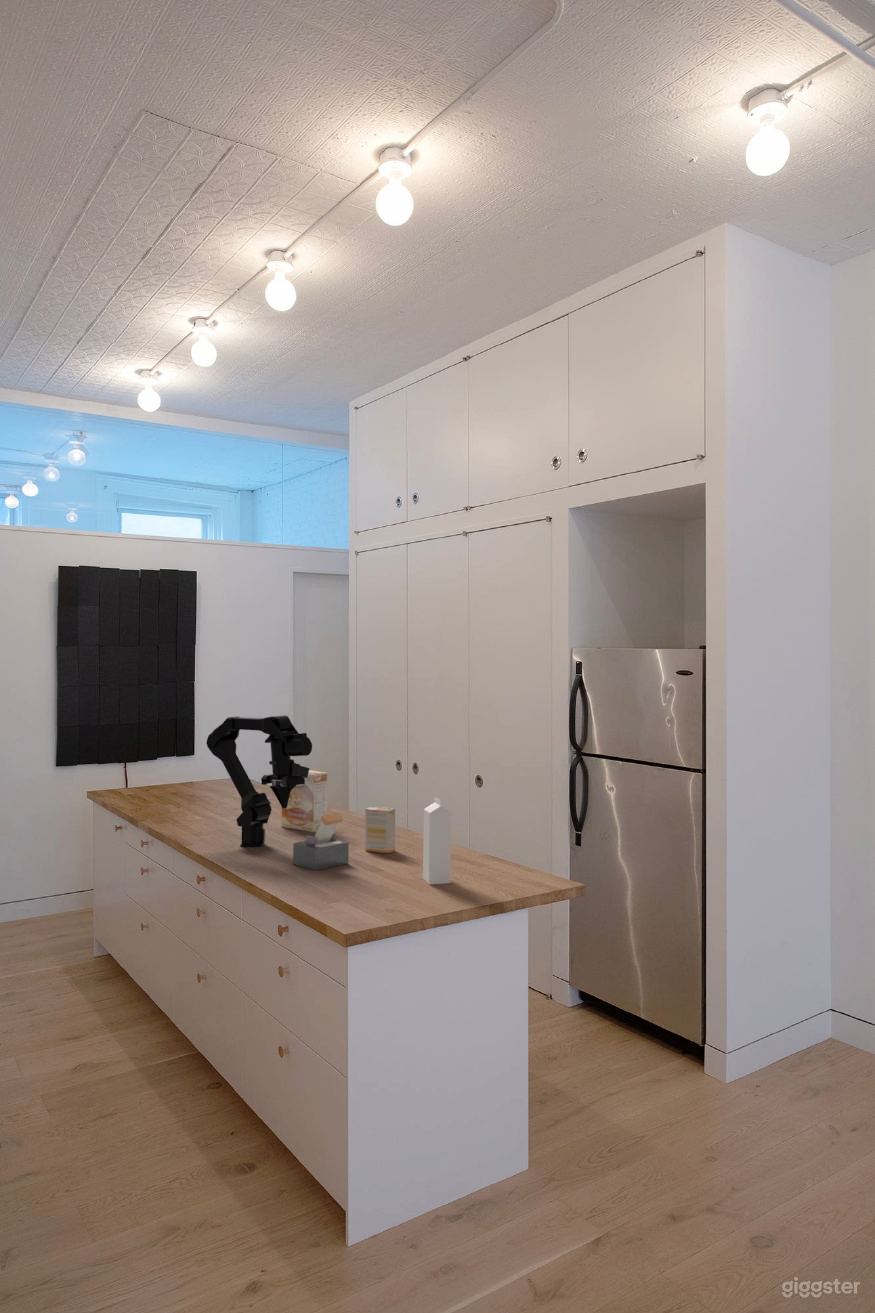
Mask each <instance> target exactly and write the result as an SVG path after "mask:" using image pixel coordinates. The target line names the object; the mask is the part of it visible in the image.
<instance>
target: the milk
mask: <svg viewBox="0 0 875 1313" xmlns="http://www.w3.org/2000/svg"><path fill="white" fill-rule="evenodd" d="M422 842H423V844H422V845H423V848H422V849H423V850H422V851H423V852H422V853H423V856H422V858H423V861H422V862H423V863H422V864H423V865H422V880H424V881H425V882H426V883H427V885H433V886H434V885H443V884H446V885H447V884H451V882H452V881H451V880H452V879H451V874H452V873H451V871H452V868H451V867H452V863H451V862H452V811H451V810H449V809H447V808H445V807H444V806H442V800H441V799H439V798H437V797H436V796H435V797H434V802H433V803H431V804H430V805H428V806H426V807H425V808H423V841H422Z"/></svg>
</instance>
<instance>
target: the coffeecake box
mask: <svg viewBox="0 0 875 1313" xmlns="http://www.w3.org/2000/svg"><path fill="white" fill-rule="evenodd" d="M327 795H328V772H327V771H325V772H323V771H317V770H311V769H309V773H308V777H307V778H305V784H301V785H296V786H295V787H294V788H293V789H292V790H291V792H290V796H289V800H288V805H287V808H282V807H281V826H280V827H282V828H287V829H293V830H300V831H304V830H305V831H304V832H310V833H316V832H317V830H318V828H319V826H320V824H321V822H322V821H321V817H322V816H323V815H328V814H327V812H328V810H327V809H328V807H327V805H328V804H327V803H328V796H327Z"/></svg>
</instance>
